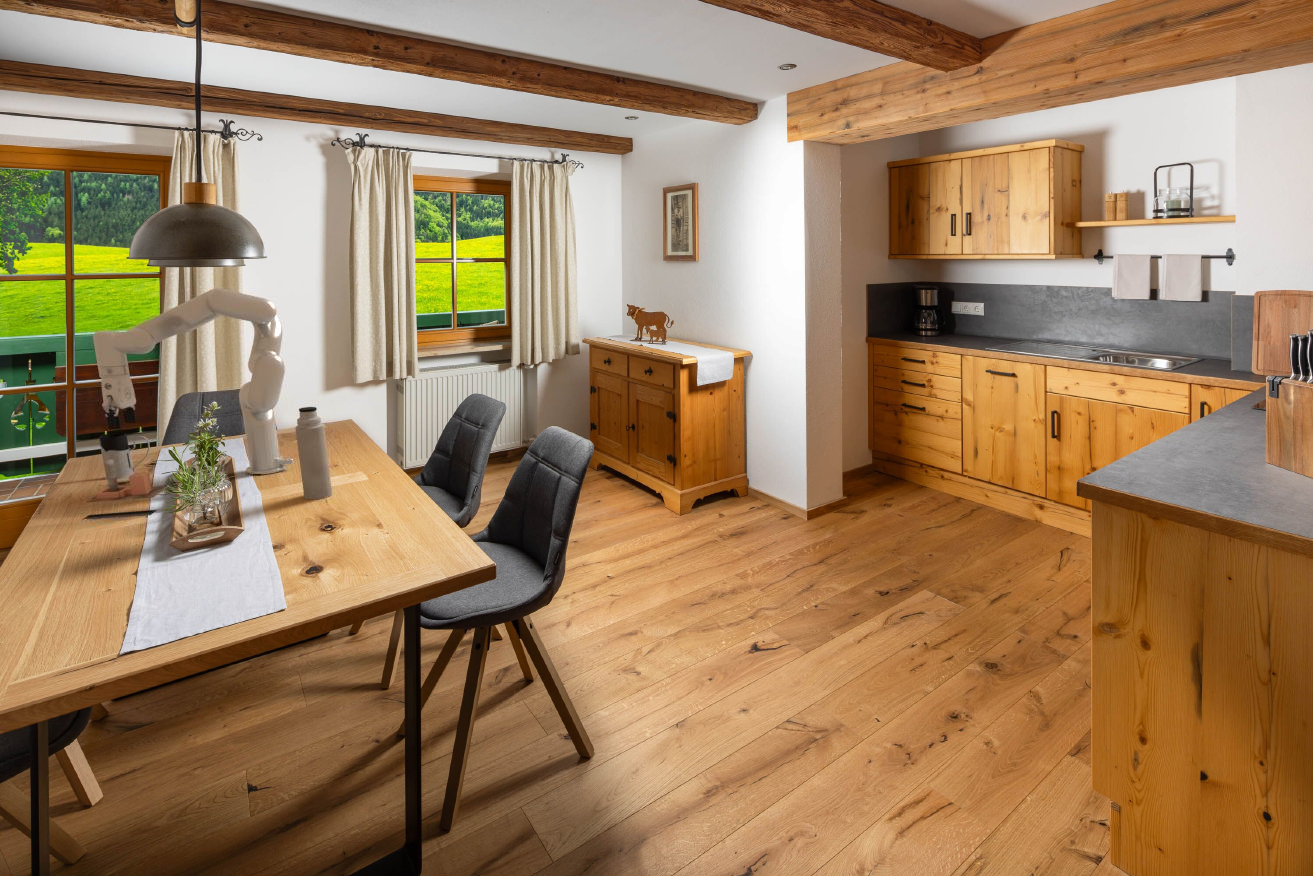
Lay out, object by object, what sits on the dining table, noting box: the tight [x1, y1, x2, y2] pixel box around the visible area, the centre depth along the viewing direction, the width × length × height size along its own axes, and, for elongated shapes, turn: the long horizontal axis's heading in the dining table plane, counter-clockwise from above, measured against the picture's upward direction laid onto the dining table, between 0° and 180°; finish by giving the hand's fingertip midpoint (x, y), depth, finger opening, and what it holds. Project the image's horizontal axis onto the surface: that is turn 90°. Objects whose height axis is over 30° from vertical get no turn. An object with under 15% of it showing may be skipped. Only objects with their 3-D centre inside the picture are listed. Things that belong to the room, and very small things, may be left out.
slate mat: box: [82, 509, 157, 521], centre depth 217 cm, size 17×12×1 cm
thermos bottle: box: [294, 406, 333, 500], centre depth 227 cm, size 8×8×28 cm
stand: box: [86, 459, 166, 503], centre depth 228 cm, size 18×13×12 cm
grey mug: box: [99, 432, 151, 481], centre depth 252 cm, size 9×14×15 cm, turn 114°
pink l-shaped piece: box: [95, 471, 152, 499], centre depth 228 cm, size 13×7×6 cm, turn 103°
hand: (123, 425), depth 230 cm, fingers open, 9 cm apart
